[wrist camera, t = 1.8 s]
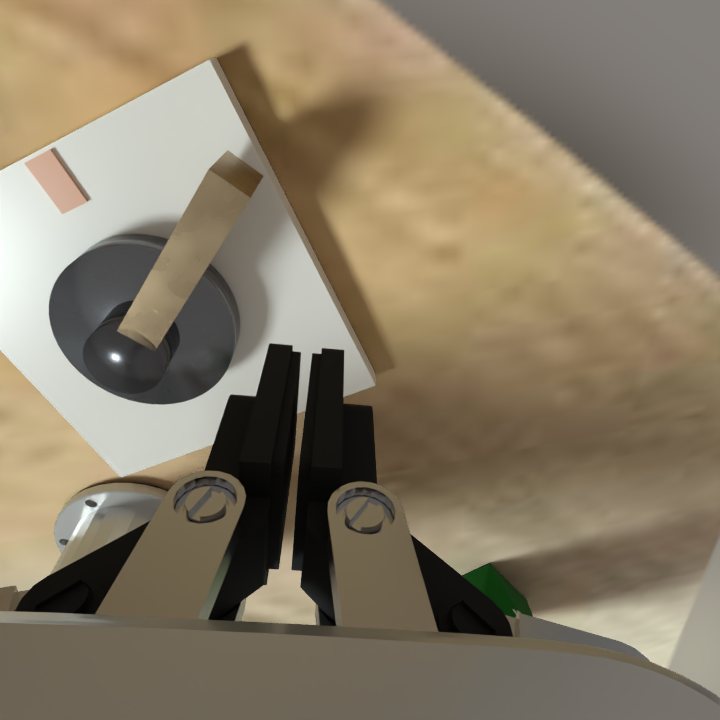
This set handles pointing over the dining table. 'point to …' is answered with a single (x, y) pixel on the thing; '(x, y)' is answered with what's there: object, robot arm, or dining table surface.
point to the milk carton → (499, 591)
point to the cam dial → (157, 300)
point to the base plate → (159, 218)
